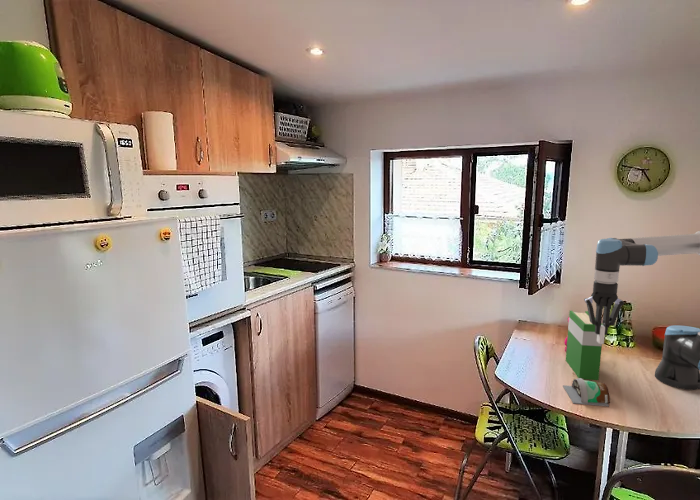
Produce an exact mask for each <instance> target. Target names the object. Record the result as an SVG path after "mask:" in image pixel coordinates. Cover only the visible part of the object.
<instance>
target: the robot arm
mask: <svg viewBox="0 0 700 500" xmlns="http://www.w3.org/2000/svg"><path fill="white" fill-rule="evenodd" d="M692 254H696V255H698V256H700V230H698V231H695V233H688V234H671V235H659V236H645V237H631V238H617V237H608V238H602V239H599V240H598V241H597V245H596V249H595V263H594V264H595V266H594V275H593V280H594V281H593V285H592V286H593V287H592V293H591V296H590V297H585V298H583V301H584V302H585V304H586V309H587V311H588V314H589V319H590V322H591V323H592V324H593V325H595V333H596V334H597V342H598V343H599V344H602V345H605V335H608V331H609V328H610V326H614V325H615V324H616V320H617V319H618V316H619V313H620V310H621V308H622V307H623V306H624V305H625V301H623V300H622V299H620V298H619V296H618V294H617V293H618V287H619V283H618V282H619V273H620V268H621V266H629V267H630V266H631V267H633V266H637V267H638V266H642V267H644V266H645V267H646V266H653V265H655V263H656V262H657V261H658V259H659V256H675V255H692ZM594 303H595V307H596V309H595V311H594V307H593V304H594ZM613 304H614V305H613ZM612 306H613V308H612ZM601 323H602V324H603V325H601ZM662 348H663V350H662V358H661V360H660V362H659V363H658V365H657V367H656V368H655V371H654V378H655V379H656V380H657V381H659V382H660V383H662V384H665V385H667V386H670V387H673V388H677V389H681V390H689V391H690V390H691V391H692V390H699V389H700V328H699V327H694V326H688V325H677V324H676V325H669V326H667V327H666V329H665V333H664V340H663V347H662Z"/></svg>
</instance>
